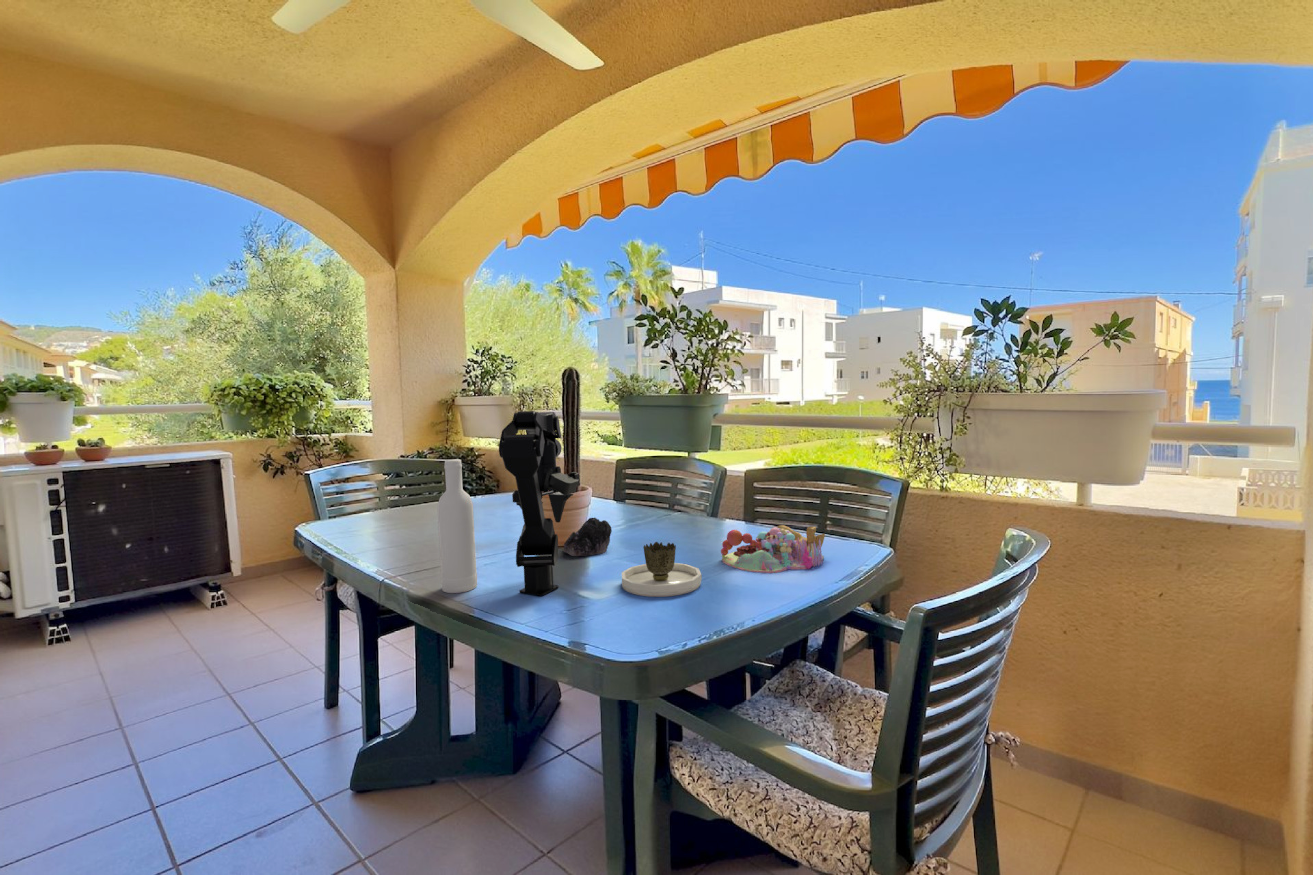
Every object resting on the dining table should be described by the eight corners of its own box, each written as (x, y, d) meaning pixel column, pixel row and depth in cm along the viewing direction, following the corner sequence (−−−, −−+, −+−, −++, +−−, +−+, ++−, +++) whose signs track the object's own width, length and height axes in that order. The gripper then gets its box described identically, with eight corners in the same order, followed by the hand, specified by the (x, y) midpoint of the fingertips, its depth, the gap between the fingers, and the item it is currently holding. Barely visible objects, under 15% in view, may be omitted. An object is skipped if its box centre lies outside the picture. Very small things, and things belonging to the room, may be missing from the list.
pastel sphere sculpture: (764, 545, 173) (763, 513, 172) (840, 558, 156) (839, 523, 156) (708, 564, 155) (707, 528, 154) (787, 581, 139) (787, 541, 138)
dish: (681, 600, 126) (681, 589, 126) (607, 591, 134) (607, 580, 134) (712, 577, 143) (711, 566, 142) (644, 569, 150) (644, 559, 150)
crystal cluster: (553, 557, 169) (552, 523, 167) (578, 542, 181) (577, 509, 179) (596, 565, 163) (595, 529, 162) (618, 548, 176) (618, 515, 174)
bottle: (435, 589, 140) (428, 460, 138) (466, 580, 146) (459, 457, 144) (452, 595, 135) (445, 462, 133) (484, 587, 141) (477, 459, 139)
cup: (681, 576, 140) (680, 542, 140) (669, 586, 134) (668, 550, 133) (652, 573, 143) (651, 540, 143) (639, 582, 137) (637, 547, 136)
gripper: (548, 468, 136) (551, 536, 137) (592, 459, 153) (594, 520, 154) (509, 467, 141) (512, 533, 142) (556, 459, 158) (558, 518, 159)
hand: (547, 525), depth 149 cm, fingers open, 9 cm apart
